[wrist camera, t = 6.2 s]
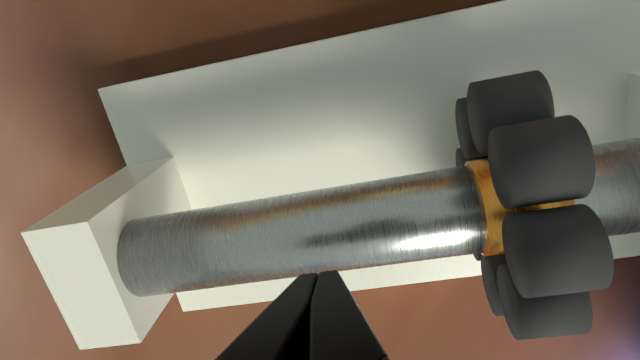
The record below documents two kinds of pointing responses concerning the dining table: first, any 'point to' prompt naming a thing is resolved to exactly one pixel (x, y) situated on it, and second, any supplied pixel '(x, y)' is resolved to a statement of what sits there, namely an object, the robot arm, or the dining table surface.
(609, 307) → the dining table surface
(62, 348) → the dining table surface
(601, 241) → the black lobed collar
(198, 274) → the pipe
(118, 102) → the base board
